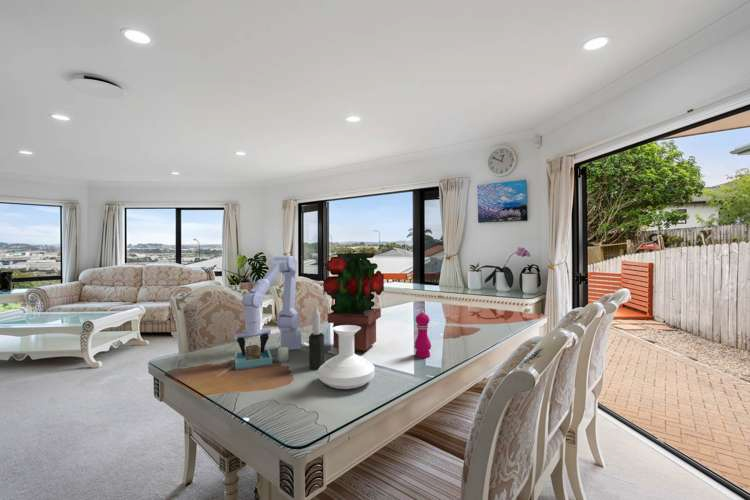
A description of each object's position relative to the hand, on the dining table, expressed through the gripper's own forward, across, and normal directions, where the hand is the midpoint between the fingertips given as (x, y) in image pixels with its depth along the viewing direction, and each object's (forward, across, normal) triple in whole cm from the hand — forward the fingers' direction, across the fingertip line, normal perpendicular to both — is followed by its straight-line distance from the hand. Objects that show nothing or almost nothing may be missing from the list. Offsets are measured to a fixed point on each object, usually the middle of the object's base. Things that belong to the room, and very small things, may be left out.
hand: (252, 353), depth 147 cm
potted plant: (+4, -45, +8) cm, 46 cm away
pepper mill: (+4, -63, +35) cm, 73 cm away
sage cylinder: (+4, -11, +4) cm, 13 cm away
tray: (+4, 0, 0) cm, 4 cm away
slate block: (+4, -10, -7) cm, 13 cm away
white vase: (+4, -21, +42) cm, 47 cm away
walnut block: (+3, 0, 0) cm, 3 cm away
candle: (+4, -19, +21) cm, 29 cm away
